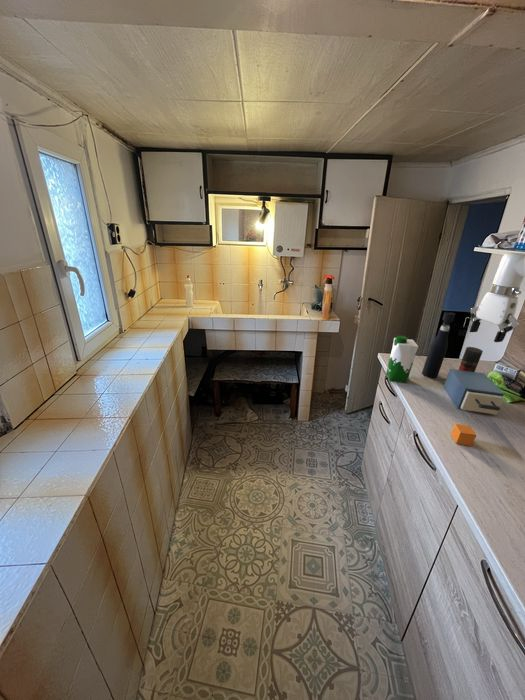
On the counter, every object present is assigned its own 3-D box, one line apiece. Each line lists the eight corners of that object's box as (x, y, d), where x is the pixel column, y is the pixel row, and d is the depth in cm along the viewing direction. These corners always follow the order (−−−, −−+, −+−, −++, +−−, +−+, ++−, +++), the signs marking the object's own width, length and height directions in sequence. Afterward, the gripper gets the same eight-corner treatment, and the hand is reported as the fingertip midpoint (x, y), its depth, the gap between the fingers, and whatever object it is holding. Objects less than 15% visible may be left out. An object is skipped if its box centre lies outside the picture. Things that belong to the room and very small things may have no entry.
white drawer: (502, 422, 99) (511, 405, 96) (466, 417, 101) (474, 400, 98) (478, 393, 116) (484, 378, 113) (447, 389, 118) (453, 374, 115)
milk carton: (383, 372, 131) (393, 332, 123) (404, 374, 130) (415, 334, 121) (387, 382, 123) (398, 340, 115) (409, 384, 122) (422, 342, 114)
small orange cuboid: (465, 436, 93) (470, 425, 91) (471, 446, 89) (476, 435, 87) (450, 434, 94) (455, 423, 92) (455, 443, 90) (460, 432, 88)
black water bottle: (420, 375, 130) (440, 313, 117) (422, 370, 135) (442, 309, 122) (436, 380, 127) (458, 316, 114) (437, 374, 131) (459, 312, 119)
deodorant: (453, 375, 131) (463, 346, 125) (467, 377, 130) (478, 347, 124) (458, 381, 126) (470, 351, 120) (473, 383, 125) (485, 353, 118)
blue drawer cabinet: (494, 414, 105) (504, 393, 101) (457, 408, 107) (465, 388, 103) (476, 391, 119) (483, 373, 115) (443, 387, 121) (450, 368, 117)
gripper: (539, 296, 90) (516, 345, 97) (488, 285, 105) (471, 328, 112) (521, 297, 88) (500, 346, 95) (472, 285, 103) (456, 329, 111)
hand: (484, 336), depth 104 cm, fingers open, 9 cm apart
